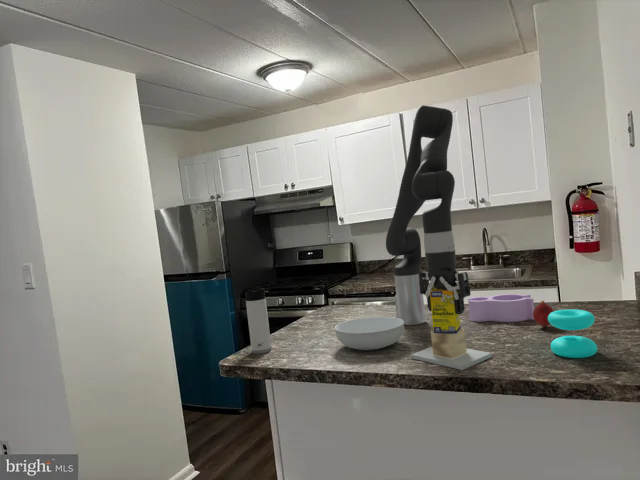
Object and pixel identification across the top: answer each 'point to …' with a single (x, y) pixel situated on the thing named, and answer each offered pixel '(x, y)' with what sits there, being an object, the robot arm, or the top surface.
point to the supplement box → (444, 311)
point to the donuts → (572, 344)
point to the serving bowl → (369, 332)
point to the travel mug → (258, 321)
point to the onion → (542, 314)
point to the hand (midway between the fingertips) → (446, 312)
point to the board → (457, 362)
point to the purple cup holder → (501, 308)
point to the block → (449, 344)
